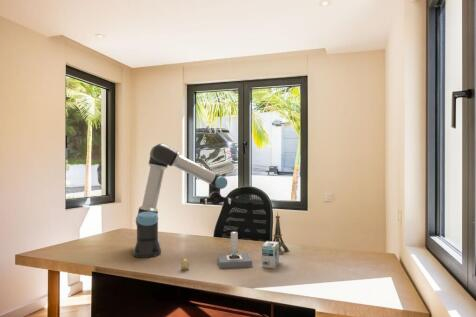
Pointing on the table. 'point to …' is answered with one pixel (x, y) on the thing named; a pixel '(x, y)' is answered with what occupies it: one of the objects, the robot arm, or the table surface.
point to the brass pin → (184, 264)
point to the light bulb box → (270, 254)
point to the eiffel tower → (279, 236)
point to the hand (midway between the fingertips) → (218, 202)
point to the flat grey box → (234, 261)
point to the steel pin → (234, 245)
